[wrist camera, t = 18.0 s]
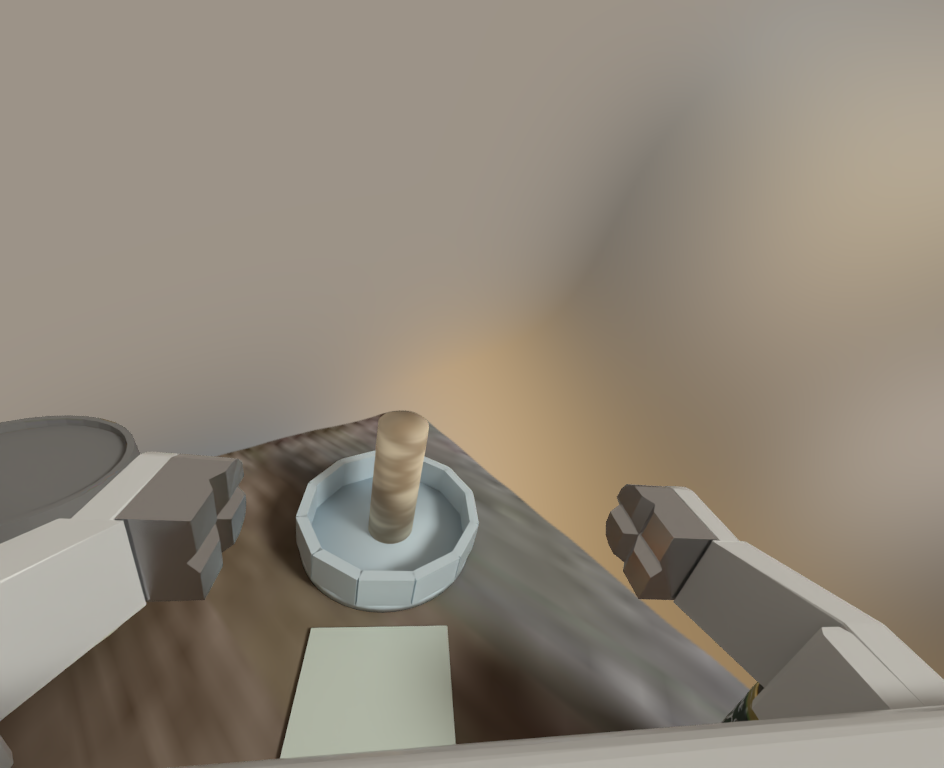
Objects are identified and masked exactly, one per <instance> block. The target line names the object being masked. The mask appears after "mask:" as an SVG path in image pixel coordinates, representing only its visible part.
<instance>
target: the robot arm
mask: <svg viewBox="0 0 944 768" xmlns="http://www.w3.org/2000/svg"><path fill="white" fill-rule="evenodd" d="M243 477H244V473H243V465H242V462H241V461H240V460H239V459H236V458H224V457H213V456H201V455H190V454H172V453H161V452H146V453H143V454H140V455H139V456H137V457H136V458H135V459H134V460H133V461H132V462H131V463H130V464H129V465H128V466H127V467H126V468H124V469H123V470H122V471H121V472H120V473H119V474H118V475H117V476H116V477H115V478H114V479H113V480H112V481H110V482H109V483H108V484H107V485H106V486H105V487H104V488H103V489H102V490H101V491H100V492H99V493H98V494H97V495H95V496H94V497H93V498H92V499H91V500H90V501H89V502H88V503H87V504H86V505H85V506H84V507H83V508H81V509H80V510H79V511H78V512H77V513H76V514H75V515H74V516H73V517H72V518H71V519H62V518H59V519H56V520H54V521H52V522H49V523H47V524H45V525H42V526H40V527H38V528H35V529H33V530H31V531H29V532H26V533H24V534H22V535H19V536H17V537H15V538H12V539H10V540H8V541H6V542H3V543H1V544H0V721H1V720H2V719H3V718H5V717H6V716H7V715H8V714H10V713H11V712H12V711H13V710H15V709H16V708H17V707H18V706H20V705H21V704H22V703H23V702H25V701H26V700H27V699H28V698H30V697H31V696H32V695H33V694H35V693H36V692H37V691H38V690H40V689H41V688H42V687H44V686H45V685H46V684H47V683H49V682H50V681H51V680H52V679H54V678H55V677H56V676H57V675H59V674H60V673H61V672H62V671H64V670H65V669H66V668H67V667H69V666H70V665H71V664H72V663H74V662H75V661H76V660H77V659H79V658H80V657H81V656H83V655H84V654H85V653H86V652H88V651H89V650H90V649H91V648H93V647H94V646H95V645H96V644H98V643H99V642H100V641H101V640H103V639H104V638H105V637H106V636H108V635H109V634H110V633H111V632H113V631H114V630H115V629H116V628H118V627H119V626H120V625H122V624H123V623H124V622H125V621H127V620H128V619H129V618H130V617H132V616H133V615H134V614H135V613H137V612H138V611H139V610H140V609H142V608H143V607H144V606H145V605H146V602H153V601H188V600H205V598H206V596H207V594H208V593H209V591H210V589H211V587H212V585H213V583H214V581H215V579H216V577H217V576H218V574H219V572H220V570H221V568H222V566H223V562H222V552H223V551H225V550H226V549H228V548H229V547H231V546H232V545H234V543H235V541H236V539H237V537H238V535H239V533H240V531H241V527H242V524H243V521H244V517H245V510H246V495H245V493H244V492H243V491H242V490H241V489H240V488H239V487H238V485H239V483H240V482H241V480H242V478H243ZM617 499H618V502H619V506H617V507H616V508H615V509H613V510H612V511H611V512H610V514H609V517H608V519H607V521H606V537H607V540H608V544H609V546H610V548H611V550H612V552H613V554H615V555H616V556H617V557H619V558H620V559H621V560H622V561H623V562H624V569H623V572H624V574H625V575H626V577H627V579H628V581H629V583H630V584H631V586H632V588H633V590H634V592H635V593H636V595H637V597H638V599H661V600H674V603H675V604H676V605H677V606H678V607H679V608H680V609H681V610H682V611H683V612H684V613H686V614H687V615H688V616H689V617H690V618H691V619H692V620H693V621H694V622H695V623H696V624H697V625H698V626H699V627H701V628H702V630H704V631H705V632H706V633H707V634H708V635H709V636H710V637H711V638H712V639H713V640H714V641H715V642H716V643H717V644H718V645H719V646H720V647H722V648H723V649H724V650H725V651H726V652H727V653H728V654H729V655H730V656H731V657H732V658H733V659H734V660H735V661H736V662H737V663H739V664H740V665H741V666H742V667H743V668H744V669H745V670H746V671H747V672H748V673H749V674H750V675H751V676H752V677H753V678H754V679H755V680H756V681H758V682H759V683H760V684H761V685H762V686H763V687H764V689H763V690H762V691H761V692H760V693H759V694H758V695H757V696H756V697H755V699H754V700H753V702H752V710H753V711H754V713H755V714H756V716H757V717H758V719H759V720H752V721H740V722H728V723H715V724H703V725H690V726H678V727H665V728H653V729H641V730H628V731H616V732H603V733H591V734H578V735H566V736H554V737H541V738H529V739H516V740H504V741H491V742H479V743H467V744H454V745H442V746H429V747H417V748H404V749H392V750H380V751H367V752H355V753H343V754H330V755H318V756H306V757H293V758H281V759H269V760H256V761H244V762H232V763H219V764H207V765H195V766H182V767H170V768H944V680H943V679H942V678H941V677H940V676H939V675H938V674H937V673H936V672H935V671H934V670H932V668H930V667H929V666H928V665H927V664H926V663H925V662H924V661H923V660H922V659H921V658H920V657H918V656H917V655H916V654H915V653H914V652H913V651H912V650H911V649H910V648H909V647H908V646H907V645H906V644H904V643H903V642H902V641H901V640H900V639H899V638H898V637H897V636H896V635H895V634H894V633H893V632H891V631H890V630H889V629H888V628H887V627H886V626H885V625H884V624H882V623H881V622H879V621H877V620H875V619H874V618H872V617H871V616H869V615H867V614H866V613H864V612H862V611H861V610H859V609H857V608H855V607H854V606H852V605H850V604H849V603H847V602H846V601H844V600H842V599H841V598H839V597H837V596H835V595H834V594H832V593H831V592H829V591H827V590H825V589H824V588H822V587H820V586H819V585H817V584H815V583H814V582H812V581H811V580H809V579H807V578H806V577H804V576H802V575H800V574H799V573H797V572H795V571H794V570H792V569H790V568H789V567H787V566H785V565H784V564H782V563H780V562H779V561H777V560H775V559H774V558H772V557H770V556H769V555H767V554H765V553H764V552H762V551H760V550H758V549H757V548H755V547H754V546H752V545H750V544H749V543H747V542H742V541H739V540H738V539H737V538H736V537H735V536H734V535H733V534H732V533H731V532H730V531H729V529H728V528H727V527H726V526H725V525H724V524H723V523H722V522H721V521H720V520H719V519H718V518H717V517H716V516H715V515H714V513H713V512H712V511H711V510H710V509H709V508H708V507H707V506H706V505H705V504H704V503H703V502H702V501H701V500H700V499H699V497H698V496H697V495H696V494H695V493H694V492H693V491H692V490H690V489H688V488H686V487H675V486H665V487H662V486H646V485H628V484H627V485H625V486H624V487H623V488H622V489H621V491H620V492H619V494H618V496H617ZM12 765H13V756H12V751H11V750H10V748H9V747H8V745H7V744H6V743H5V741H4V740H3V738H2V737H1V735H0V768H11V766H12Z"/></svg>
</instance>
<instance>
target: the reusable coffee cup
mask: <svg viewBox="0 0 944 768" xmlns="http://www.w3.org/2000/svg"><path fill="white" fill-rule="evenodd" d="M139 455H140V453H139V450H138V448H137V445H136V443H135V441H134V438H133V436H132V434H131V433H130V432H129V431H128V430H127V429H126V428H125V427H123V426H121V425H119V424H117V423H115V422H112V421H109V420H105V419H101V418H94V417H87V416H45V417H35V418H26V419H20V420H13V421H7V422H1V423H0V544H1V543H3V542H6V541H8V540H10V539H12V538H15V537H17V536H19V535H22V534H24V533H26V532H29V531H31V530H33V529H35V528H38V527H40V526H42V525H45V524H47V523H49V522H52V521H54V520H56V519H59V518H62V519H71V518H72V517H73V516H74V515H75V514H76V513H77V512H78V511H79V510H80V509H81V508H83V507H84V506H85V505H86V504H87V503H88V502H89V501H90V500H91V499H92V498H93V497H94V496H95V495H97V494H98V493H99V492H100V491H101V490H102V489H103V488H104V487H105V486H106V485H107V484H108V483H109V482H110V481H112V480H113V479H114V478H115V477H116V476H117V475H118V474H119V473H120V472H121V471H122V470H123V469H124V468H126V467H127V466H128V465H129V464H130V463H131V462H132V461H133V460H134V459H135V458H136V457H137V456H139ZM120 626H121V625H120ZM120 626H119V627H120ZM119 627H118V628H119ZM118 628H116V629H115V630H117V629H118ZM115 630H114V631H115ZM114 631H113V632H114ZM113 632H111V633H110V634H112V633H113ZM110 634H109V635H110ZM109 635H108V636H109ZM108 636H106V637H105V638H107V637H108ZM105 638H104V639H105ZM104 639H103V640H104ZM103 640H101V641H103ZM101 641H100V642H101ZM100 642H99V643H100Z"/></svg>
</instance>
